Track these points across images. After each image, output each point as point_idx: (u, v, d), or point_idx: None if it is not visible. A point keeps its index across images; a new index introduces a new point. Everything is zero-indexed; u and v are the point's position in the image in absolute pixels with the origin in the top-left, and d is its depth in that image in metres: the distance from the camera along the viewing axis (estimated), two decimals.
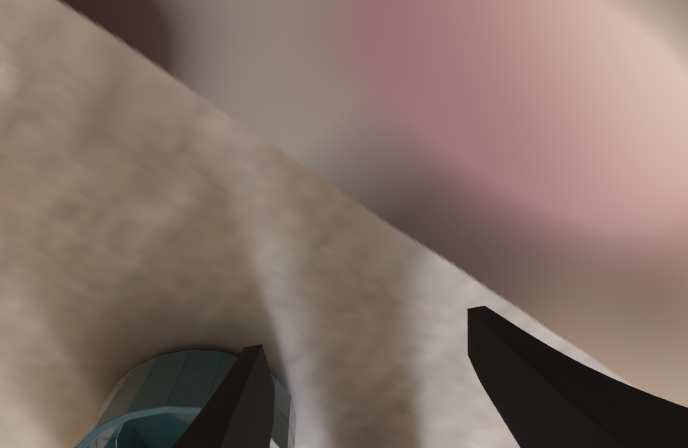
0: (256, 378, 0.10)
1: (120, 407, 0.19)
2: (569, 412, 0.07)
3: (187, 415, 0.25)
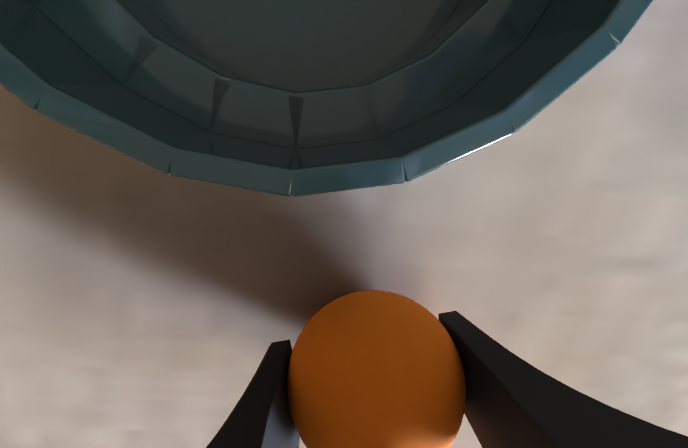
0: (287, 373, 0.10)
1: None
2: (523, 420, 0.07)
3: None
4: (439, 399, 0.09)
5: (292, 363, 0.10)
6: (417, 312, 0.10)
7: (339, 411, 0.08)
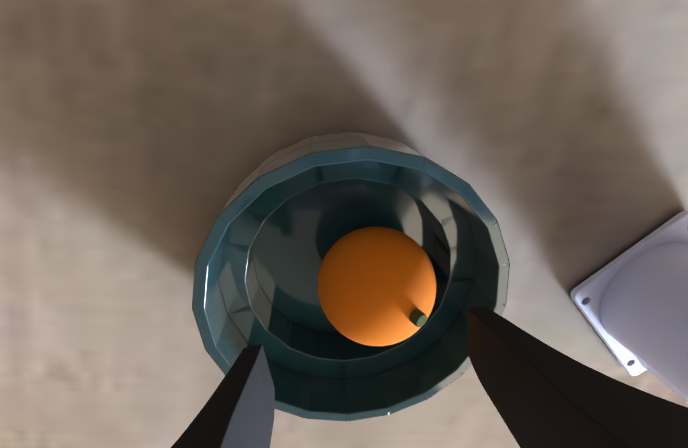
0: (256, 378, 0.10)
1: None
2: (570, 412, 0.07)
3: (321, 258, 0.18)
4: (429, 273, 0.15)
5: (331, 282, 0.14)
6: (400, 232, 0.16)
7: (381, 292, 0.13)
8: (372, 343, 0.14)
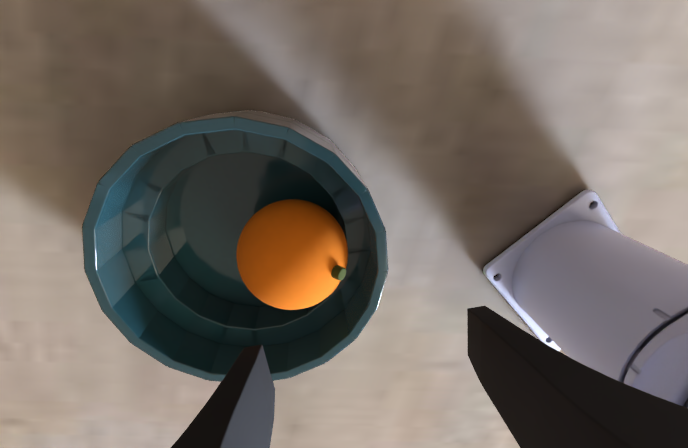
0: (256, 378, 0.10)
1: None
2: (569, 412, 0.07)
3: (233, 233, 0.19)
4: (341, 233, 0.16)
5: (255, 254, 0.15)
6: None
7: (305, 254, 0.15)
8: (300, 305, 0.16)
